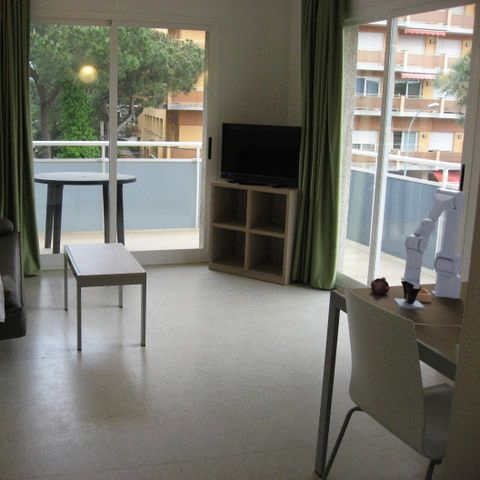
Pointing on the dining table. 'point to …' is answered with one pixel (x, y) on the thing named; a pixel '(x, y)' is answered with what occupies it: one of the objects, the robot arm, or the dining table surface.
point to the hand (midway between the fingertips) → (409, 301)
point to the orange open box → (423, 296)
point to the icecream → (380, 286)
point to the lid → (404, 304)
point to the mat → (405, 308)
